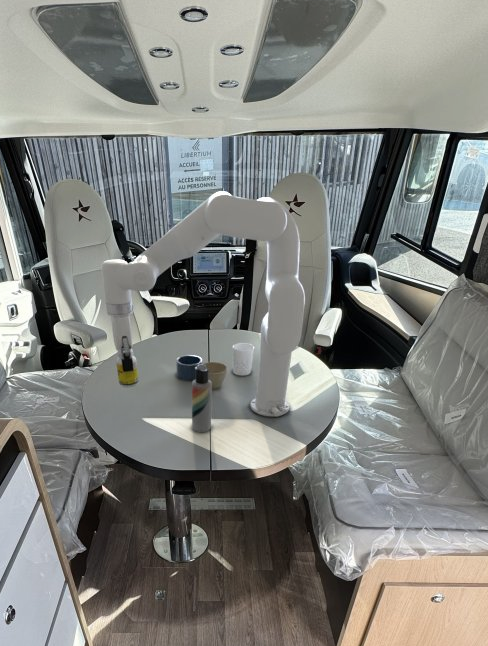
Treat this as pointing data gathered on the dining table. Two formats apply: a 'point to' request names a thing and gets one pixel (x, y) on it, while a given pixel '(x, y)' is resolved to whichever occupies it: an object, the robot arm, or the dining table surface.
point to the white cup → (242, 358)
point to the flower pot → (216, 373)
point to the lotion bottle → (201, 399)
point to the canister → (187, 366)
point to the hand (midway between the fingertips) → (126, 366)
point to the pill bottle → (127, 377)
